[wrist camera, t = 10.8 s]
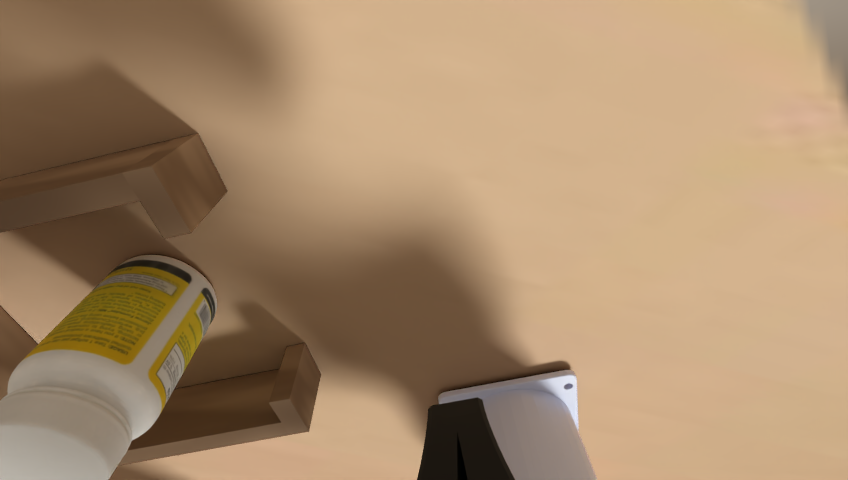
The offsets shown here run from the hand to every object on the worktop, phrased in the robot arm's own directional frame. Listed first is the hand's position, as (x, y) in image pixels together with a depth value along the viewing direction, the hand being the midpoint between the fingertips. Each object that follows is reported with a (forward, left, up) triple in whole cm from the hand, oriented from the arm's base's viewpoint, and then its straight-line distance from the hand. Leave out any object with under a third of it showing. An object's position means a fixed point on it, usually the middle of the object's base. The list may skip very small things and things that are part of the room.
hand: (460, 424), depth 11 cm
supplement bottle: (0, +13, -10) cm, 16 cm away
